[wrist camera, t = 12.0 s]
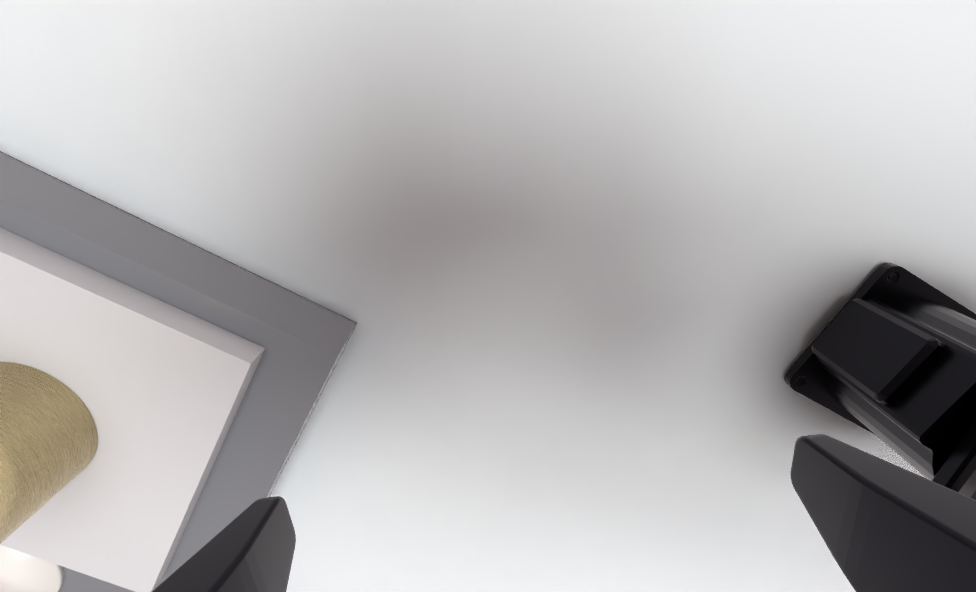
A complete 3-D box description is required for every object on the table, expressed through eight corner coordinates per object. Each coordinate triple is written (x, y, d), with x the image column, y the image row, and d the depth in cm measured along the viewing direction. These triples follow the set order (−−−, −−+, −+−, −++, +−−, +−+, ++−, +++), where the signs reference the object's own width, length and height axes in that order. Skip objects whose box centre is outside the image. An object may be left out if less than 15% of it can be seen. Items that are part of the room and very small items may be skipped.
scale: (356, 323, 22) (328, 372, 18) (211, 610, 28) (166, 693, 24) (-94, 106, 18) (-251, 107, 14) (-145, 485, 25) (-263, 558, 21)
